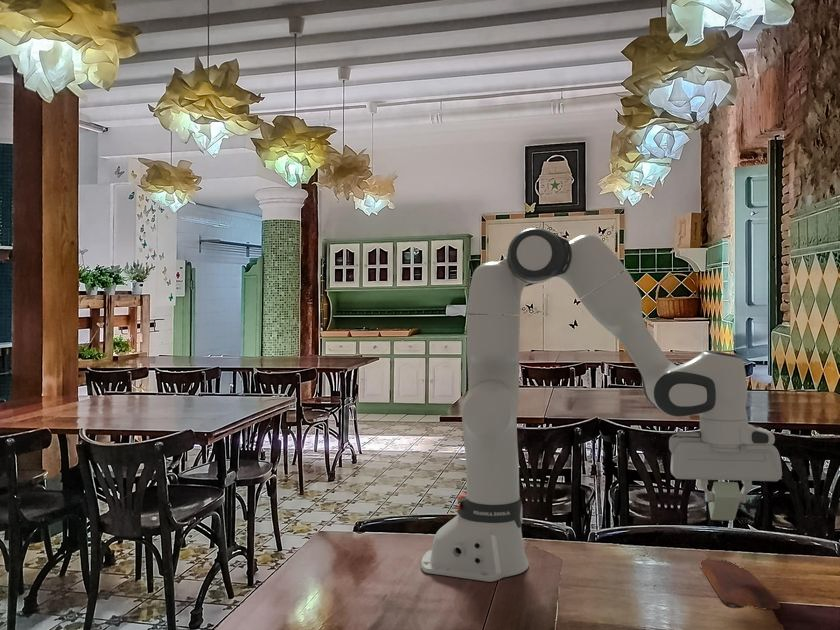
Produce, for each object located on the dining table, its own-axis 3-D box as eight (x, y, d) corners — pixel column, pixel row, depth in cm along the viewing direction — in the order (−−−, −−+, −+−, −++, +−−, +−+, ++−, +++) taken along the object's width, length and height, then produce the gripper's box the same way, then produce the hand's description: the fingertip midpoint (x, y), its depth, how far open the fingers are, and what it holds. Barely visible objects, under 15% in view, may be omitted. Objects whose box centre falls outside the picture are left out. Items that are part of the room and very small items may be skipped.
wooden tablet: (784, 613, 121) (784, 604, 121) (724, 610, 123) (724, 601, 123) (740, 559, 147) (740, 551, 147) (691, 557, 149) (691, 549, 149)
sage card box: (710, 519, 141) (716, 497, 134) (708, 504, 143) (713, 481, 137) (734, 520, 140) (741, 497, 133) (731, 505, 142) (737, 482, 136)
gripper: (670, 434, 136) (672, 504, 136) (783, 435, 132) (785, 507, 132) (666, 429, 142) (668, 496, 142) (773, 430, 138) (775, 499, 138)
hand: (725, 501), depth 137 cm, fingers closed on sage card box, 4 cm apart
